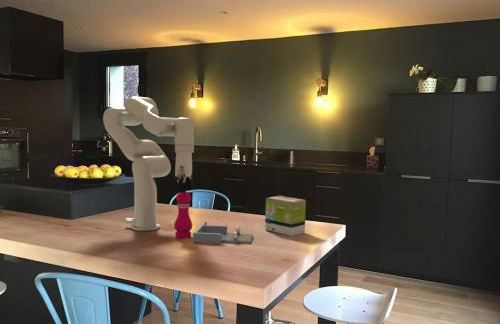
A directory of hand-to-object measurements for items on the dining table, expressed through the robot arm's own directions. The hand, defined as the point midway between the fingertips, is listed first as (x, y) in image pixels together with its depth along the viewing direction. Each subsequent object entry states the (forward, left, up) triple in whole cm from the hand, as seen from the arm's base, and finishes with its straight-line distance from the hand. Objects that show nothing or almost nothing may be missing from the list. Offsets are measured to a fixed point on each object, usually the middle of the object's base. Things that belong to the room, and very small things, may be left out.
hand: (184, 191), depth 181 cm
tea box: (+41, +17, -19) cm, 48 cm away
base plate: (+22, -1, -19) cm, 28 cm away
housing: (+11, +3, -18) cm, 22 cm away
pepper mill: (0, 0, -19) cm, 19 cm away
